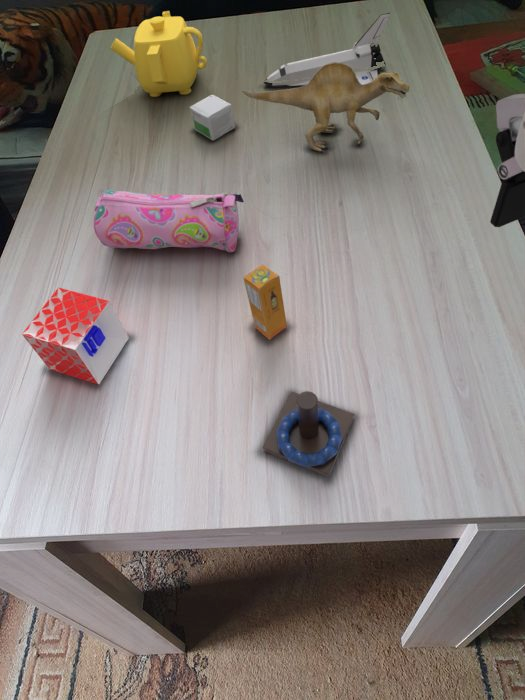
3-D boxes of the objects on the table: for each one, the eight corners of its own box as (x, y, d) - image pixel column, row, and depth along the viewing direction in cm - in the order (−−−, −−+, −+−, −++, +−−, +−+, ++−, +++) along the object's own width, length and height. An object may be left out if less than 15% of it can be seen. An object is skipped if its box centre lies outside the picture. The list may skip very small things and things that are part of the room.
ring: (354, 441, 59) (355, 436, 57) (305, 481, 57) (304, 476, 55) (312, 399, 62) (312, 393, 61) (264, 434, 60) (263, 429, 59)
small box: (194, 130, 100) (188, 106, 96) (217, 117, 101) (212, 92, 97) (212, 142, 97) (207, 117, 93) (236, 128, 99) (232, 103, 95)
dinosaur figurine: (402, 146, 90) (412, 68, 79) (250, 157, 93) (240, 83, 82) (397, 121, 95) (406, 44, 84) (252, 132, 97) (242, 59, 86)
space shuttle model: (260, 67, 111) (254, 16, 103) (376, 49, 110) (380, -5, 102) (268, 106, 102) (263, 53, 94) (395, 86, 101) (401, 31, 93)
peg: (354, 417, 61) (357, 382, 55) (328, 477, 58) (328, 446, 51) (291, 395, 64) (287, 358, 58) (263, 451, 60) (255, 418, 54)
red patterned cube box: (81, 324, 74) (58, 287, 68) (129, 337, 72) (109, 300, 66) (49, 370, 70) (21, 334, 64) (98, 385, 68) (74, 350, 61)
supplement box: (271, 313, 72) (263, 261, 64) (287, 327, 70) (282, 276, 62) (252, 327, 71) (242, 275, 63) (268, 341, 69) (260, 291, 61)
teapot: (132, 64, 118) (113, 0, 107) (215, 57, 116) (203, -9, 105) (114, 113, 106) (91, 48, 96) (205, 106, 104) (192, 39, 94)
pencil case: (248, 223, 83) (240, 174, 76) (238, 265, 78) (228, 217, 70) (121, 221, 87) (101, 174, 79) (103, 260, 81) (81, 215, 74)
